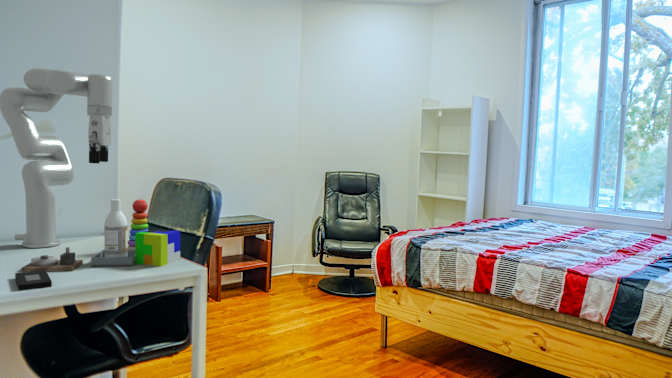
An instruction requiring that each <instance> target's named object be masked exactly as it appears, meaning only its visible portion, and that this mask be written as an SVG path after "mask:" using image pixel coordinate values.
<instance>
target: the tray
mask: <svg viewBox="0 0 672 378" xmlns="http://www.w3.org/2000/svg"><path fill="white" fill-rule="evenodd" d="M90 261H91V262H90V264H91V267H94V268H96V267H97V268H98V267H99V268H100V267H104V268H105V267H134V265H135V264H136V263H135V250H128V257H105V249H102V250H100V251H99V252H98V253H96V254H95V255H93V256H92V257H91V259H90Z"/></svg>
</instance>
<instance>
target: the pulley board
mask: <svg viewBox="0 0 672 378" xmlns="http://www.w3.org/2000/svg"><path fill="white" fill-rule="evenodd" d="M83 261H84V260H83V259H76V252H71V251H70V247H69V246H67V247H65V252H63V253H61V254H60V255H59V259H58V256H53V255H48V254H47V255H41V256H37V257H34V258H31V259H30V263H27V264H26V265H24V266H22V267H21V269H20V270H21V273H22V272H31V271H41V270H46V272H73V271H75V270H76V269H77V268H79V267H80V266H81V265H83Z"/></svg>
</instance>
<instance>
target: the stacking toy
mask: <svg viewBox="0 0 672 378" xmlns="http://www.w3.org/2000/svg"><path fill="white" fill-rule="evenodd" d="M132 209H133V211H134V212H133V213H132V219H131V221H130V222H131V224H130V230H129V235H128V239H129V240H128V250H135V233H139V232H144V231H149V230H150V229H149V224H148V219H147V217H148V214H147V212H146V211H147V210H148V203H147V201H145V200H144V199H142V198H141V199H136V200H135V201H133V203H132Z"/></svg>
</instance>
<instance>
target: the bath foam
mask: <svg viewBox="0 0 672 378" xmlns="http://www.w3.org/2000/svg"><path fill="white" fill-rule="evenodd" d="M121 201H122V200H121V199H119V198H112V199H110V212H109V213H108V214H107V216H106V218H105V221H104V228H103V229H104V250H105V257H128V246H129V245H128V241H129V240H128V239H129V235H128V232H129V230H128V229H129V227H128V220H127V217H126V216H125V215H124V213H123V211H122V208H121V207H122V206H121V205H122V203H121Z"/></svg>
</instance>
